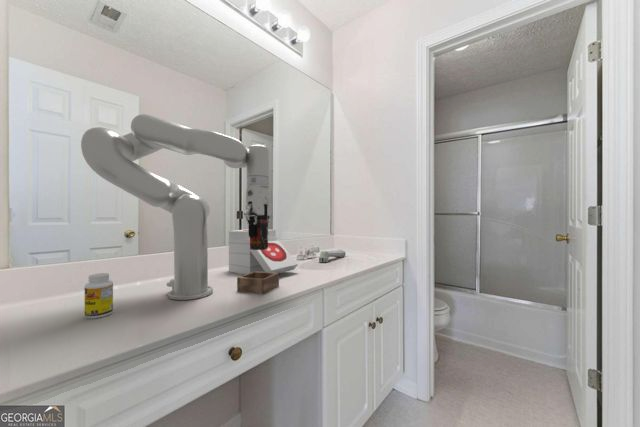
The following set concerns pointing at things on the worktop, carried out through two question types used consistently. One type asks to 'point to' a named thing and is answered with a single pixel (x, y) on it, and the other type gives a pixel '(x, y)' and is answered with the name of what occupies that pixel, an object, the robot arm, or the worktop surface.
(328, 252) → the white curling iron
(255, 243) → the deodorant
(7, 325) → the worktop surface
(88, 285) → the supplement bottle
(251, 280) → the holder
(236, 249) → the white stacked boxes
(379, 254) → the worktop surface
